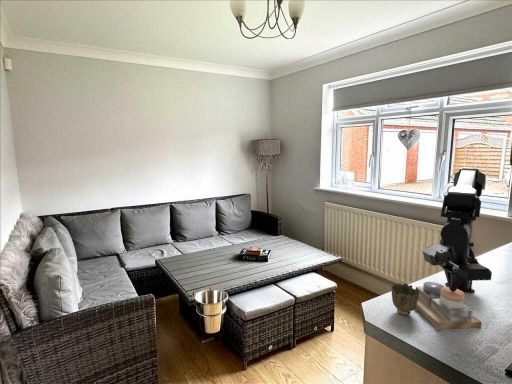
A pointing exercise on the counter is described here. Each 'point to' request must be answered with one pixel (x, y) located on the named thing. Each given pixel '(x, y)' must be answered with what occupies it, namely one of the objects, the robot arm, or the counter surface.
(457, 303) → the plunger terracotta
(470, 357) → the counter surface
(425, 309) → the button board
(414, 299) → the cup
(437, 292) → the plunger grey
